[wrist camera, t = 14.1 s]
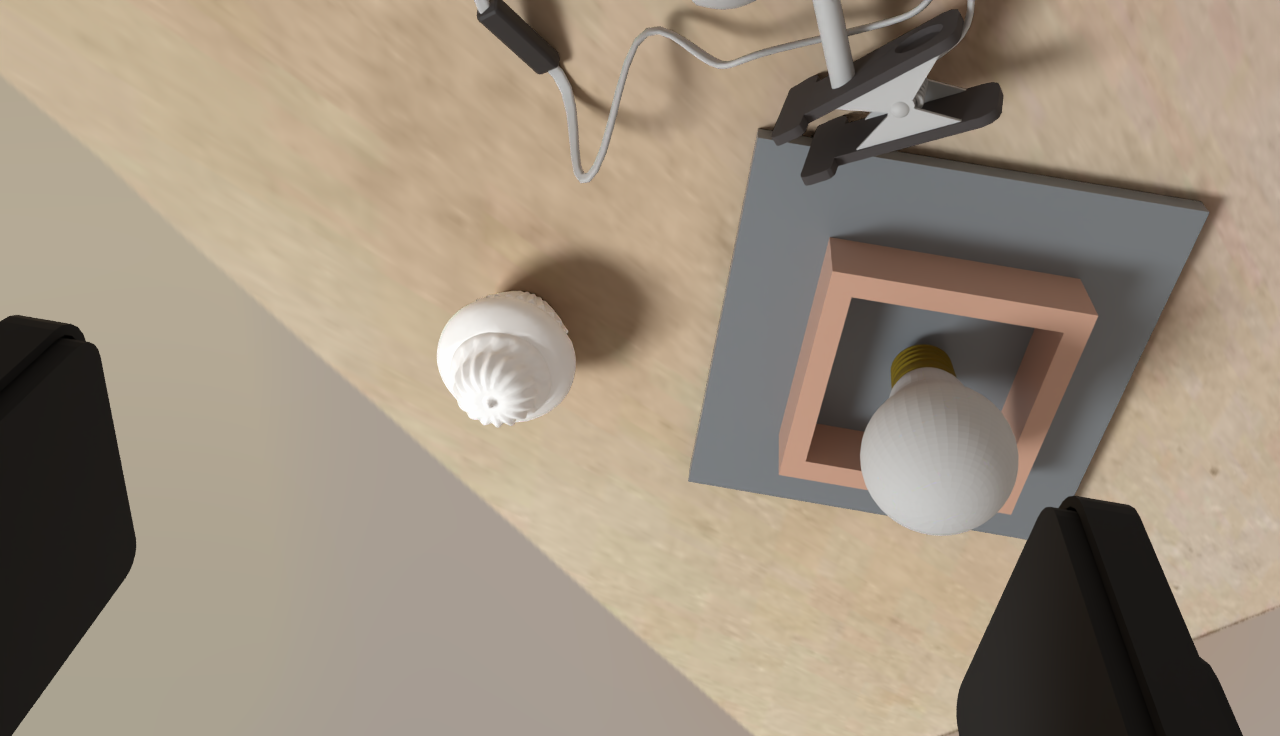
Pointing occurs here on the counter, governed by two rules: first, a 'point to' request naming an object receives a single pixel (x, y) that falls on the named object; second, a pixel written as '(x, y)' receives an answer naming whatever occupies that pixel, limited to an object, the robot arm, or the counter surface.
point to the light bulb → (937, 448)
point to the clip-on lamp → (812, 85)
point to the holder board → (929, 316)
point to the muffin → (506, 358)
